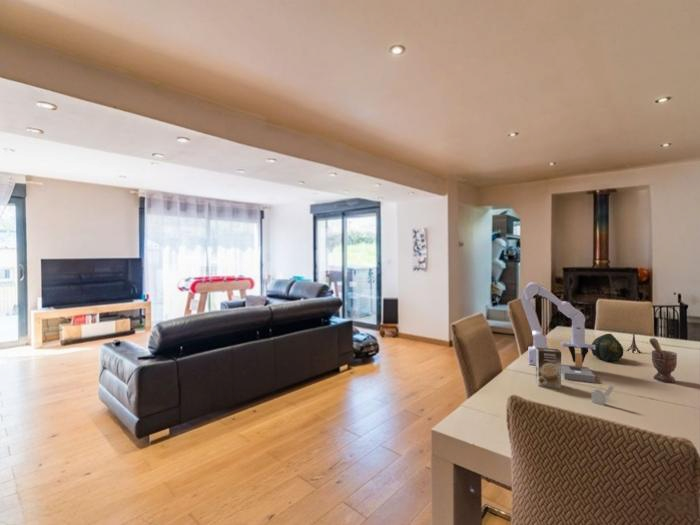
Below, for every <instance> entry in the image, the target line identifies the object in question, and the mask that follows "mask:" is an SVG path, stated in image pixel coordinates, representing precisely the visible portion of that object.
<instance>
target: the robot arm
mask: <svg viewBox="0 0 700 525" xmlns="http://www.w3.org/2000/svg"><path fill="white" fill-rule="evenodd" d="M522 291H523V292H522V294H521V297H520V302H521V305H522V307H523V310H524V313H525V316H526V319H527V322H528V325H529V327H530V330H531V333H532V338H533V339H532V342H533V344H532V346H528V350H527V361H528V365H532V366H536V347H539V348H549V347H548V346H547V345H548V344H547V342H548V338H547V336H546V335H545V334H544V333H543V330H542V328H541V325H540V322H539V319H538V318H537V315H536V314H537V313H536V312H535V308H534V306H533V302H532V300H533V298H534V296H535V295H537V294H538V296H540V297H541V296H542V297H545V298H546V299H547V300H549V301H550V302H552V304H554V305H556V306H557V310H558V311H559V312H561V313H562V314H563V315H564V316H566V317H567V318H568V319H569V318H570V320H571V337H570V338H571V342H565V341H563V342H561V344H560V346H561V347H562V348H568V350H569V352H570V355H571V359H572V362H573V363H574V362H575V353H576V349H580V353H581V354H582V364H583V363H584V361H585V358H586V355H587V354H588V353H589V350H591V349H594V350H595V345H592V344H590V343H586V334H585V333H586V329H585V328H586V326H585V325H586V324H585V323H586V317H585V315H584V314H583V312H582V311H580V309H578V308H577V309H576V307H574V306H573V305H572V303H570V301H569V302H568V301H565V300H564V301H563V300H561V299H559V298H558V297H557V296H556V295H554V294H553V293H552V292H551V291H550V290H549V289H547V288H546V287H544V286H543V285H541V284H540V285H539V283H538V282H536V281H530V282H528V283H527V285H526V286H525V287H524V288H523V290H522Z"/></svg>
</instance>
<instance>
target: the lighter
mask: <svg viewBox="0 0 700 525" xmlns="http://www.w3.org/2000/svg"><path fill="white" fill-rule="evenodd" d="M614 388H615V386H613V385H612V384H610V386H608V388H607V390H606V391H605V392H603V391H602V389H598V388H595V389H594V390H591V403H594V404H597V403H598V405H601V404H602V405H601V406H605V405H606V396H607V397H609V396H610V395H611V393H612V392H613V390H614Z"/></svg>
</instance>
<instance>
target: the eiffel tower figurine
mask: <svg viewBox="0 0 700 525" xmlns="http://www.w3.org/2000/svg"><path fill="white" fill-rule="evenodd" d="M627 349H628V350H627V351H626V352H628V351H629V350H632V353H631V354H635V353H634V351H636V350H637V352H639V353H638V354H642V351H641V350H639V347H637V345H636V337H635V331H633V332H632V342H631V345H630V346H629V347H628V348H627Z"/></svg>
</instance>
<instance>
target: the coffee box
mask: <svg viewBox="0 0 700 525" xmlns="http://www.w3.org/2000/svg"><path fill="white" fill-rule="evenodd" d="M561 364H562V351H561V350H559V349H558V348H551V347H548V348H539V347H536V365H535V383H536V384H537V387H546V388H554V389H562V373H561Z"/></svg>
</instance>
